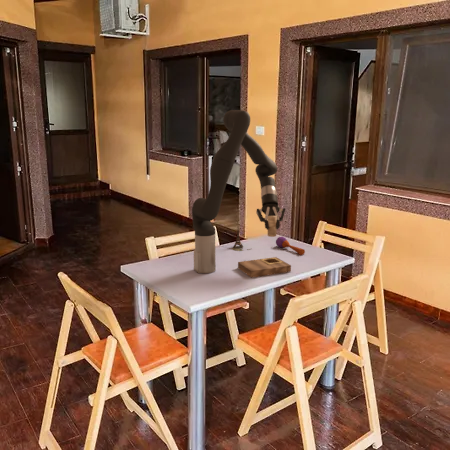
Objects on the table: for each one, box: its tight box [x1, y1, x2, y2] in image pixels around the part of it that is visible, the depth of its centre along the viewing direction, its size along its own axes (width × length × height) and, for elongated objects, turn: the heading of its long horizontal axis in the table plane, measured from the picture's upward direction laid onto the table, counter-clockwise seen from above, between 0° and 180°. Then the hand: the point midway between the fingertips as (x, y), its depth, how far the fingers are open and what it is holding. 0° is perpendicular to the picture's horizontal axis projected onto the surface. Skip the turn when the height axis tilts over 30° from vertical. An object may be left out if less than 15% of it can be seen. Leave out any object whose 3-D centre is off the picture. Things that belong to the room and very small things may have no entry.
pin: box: [267, 215, 277, 238], centre depth 218 cm, size 4×4×9 cm
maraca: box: [275, 236, 306, 256], centre depth 251 cm, size 6×6×20 cm
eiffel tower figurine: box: [228, 225, 251, 252], centre depth 255 cm, size 15×10×13 cm
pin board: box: [237, 256, 292, 279], centre depth 219 cm, size 20×14×3 cm
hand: (272, 228), depth 216 cm, fingers closed on pin, 4 cm apart
